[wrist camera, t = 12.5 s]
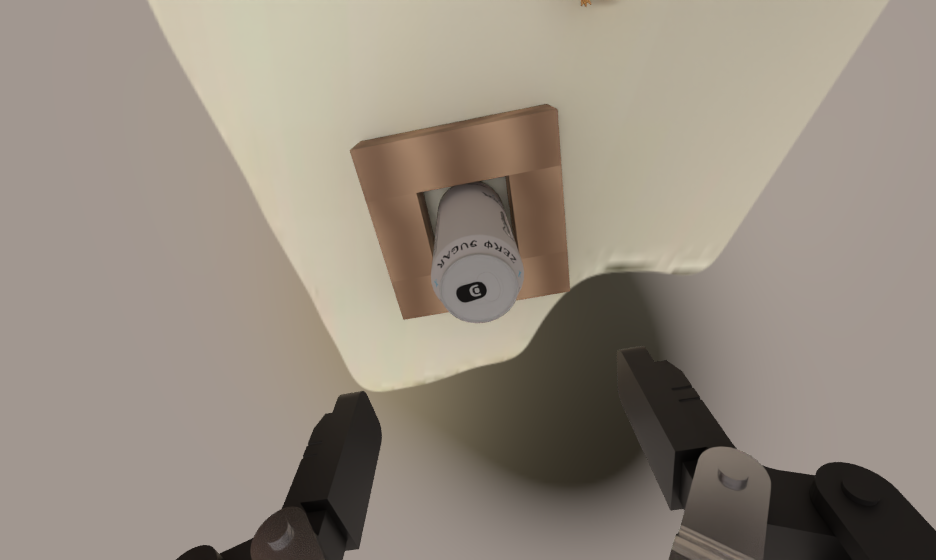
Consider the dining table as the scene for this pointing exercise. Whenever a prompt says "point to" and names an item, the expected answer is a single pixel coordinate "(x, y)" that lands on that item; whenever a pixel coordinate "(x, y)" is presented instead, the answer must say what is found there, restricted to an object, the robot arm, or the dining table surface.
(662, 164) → the dining table surface
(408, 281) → the wooden square frame
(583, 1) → the figurine
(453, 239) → the energy drink can
